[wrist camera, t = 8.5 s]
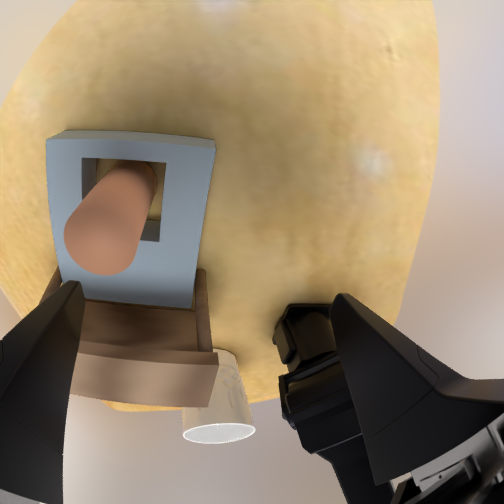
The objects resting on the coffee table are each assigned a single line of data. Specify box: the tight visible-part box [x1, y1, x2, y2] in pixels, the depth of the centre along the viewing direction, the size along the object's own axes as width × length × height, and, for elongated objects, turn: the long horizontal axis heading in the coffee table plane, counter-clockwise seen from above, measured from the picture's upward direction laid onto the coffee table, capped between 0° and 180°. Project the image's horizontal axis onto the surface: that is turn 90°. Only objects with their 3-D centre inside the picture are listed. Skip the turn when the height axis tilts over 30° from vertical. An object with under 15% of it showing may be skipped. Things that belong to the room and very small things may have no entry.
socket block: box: [46, 130, 216, 308], centre depth 18 cm, size 11×13×3 cm
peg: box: [64, 159, 157, 275], centre depth 15 cm, size 4×4×8 cm
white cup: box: [182, 348, 255, 444], centre depth 28 cm, size 8×8×10 cm
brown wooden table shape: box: [39, 265, 219, 408], centre depth 20 cm, size 14×7×10 cm, turn 77°
